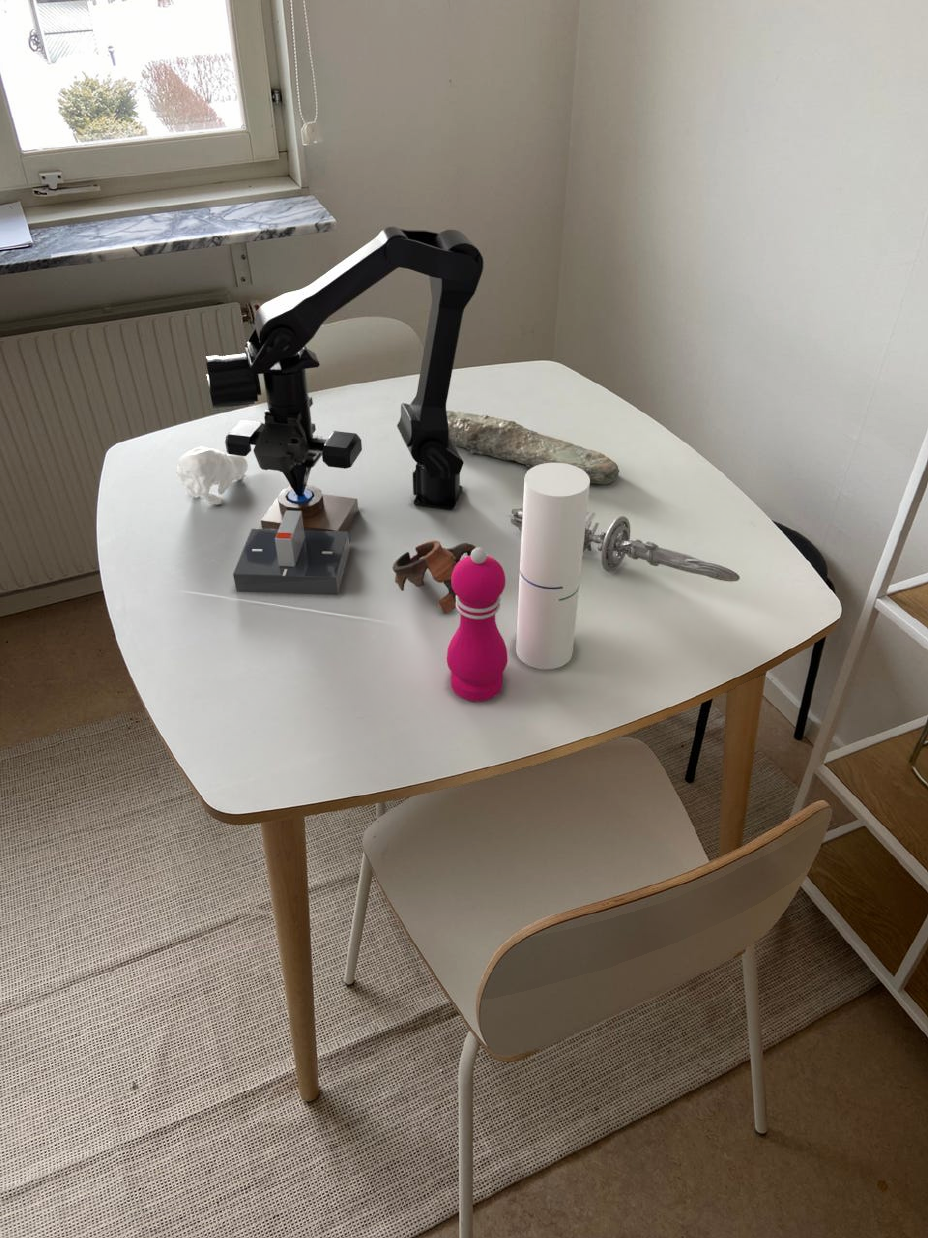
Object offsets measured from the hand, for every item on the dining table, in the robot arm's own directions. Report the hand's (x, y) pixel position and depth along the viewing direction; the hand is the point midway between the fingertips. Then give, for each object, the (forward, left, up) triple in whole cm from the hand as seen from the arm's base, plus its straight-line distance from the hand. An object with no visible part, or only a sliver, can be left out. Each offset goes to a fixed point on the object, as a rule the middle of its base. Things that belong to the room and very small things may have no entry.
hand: (300, 494), depth 137 cm
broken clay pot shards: (-24, +13, -4) cm, 28 cm away
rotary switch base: (-3, +13, -4) cm, 14 cm away
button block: (-1, +1, -4) cm, 4 cm away
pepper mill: (-33, +30, -4) cm, 45 cm away
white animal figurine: (+16, -4, -4) cm, 17 cm away
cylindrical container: (-40, +22, -4) cm, 46 cm away
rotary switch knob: (-3, +13, -1) cm, 13 cm away
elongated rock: (-28, -26, -4) cm, 39 cm away
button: (0, 0, -2) cm, 2 cm away
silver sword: (-47, +2, -4) cm, 48 cm away
